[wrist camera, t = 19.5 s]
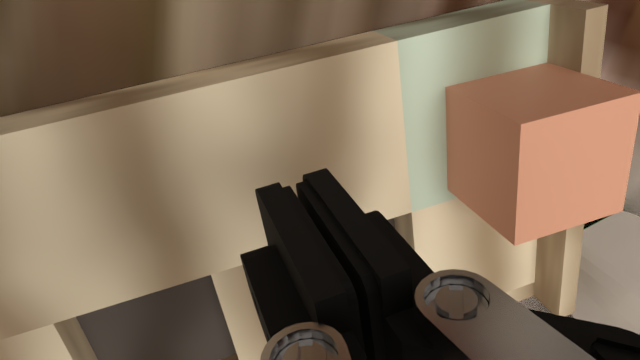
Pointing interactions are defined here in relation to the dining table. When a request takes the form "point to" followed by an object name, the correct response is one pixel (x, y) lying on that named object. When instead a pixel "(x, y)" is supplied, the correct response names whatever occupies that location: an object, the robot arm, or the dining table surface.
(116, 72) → the dining table surface
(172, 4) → the dining table surface
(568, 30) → the board
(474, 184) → the block
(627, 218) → the cup
